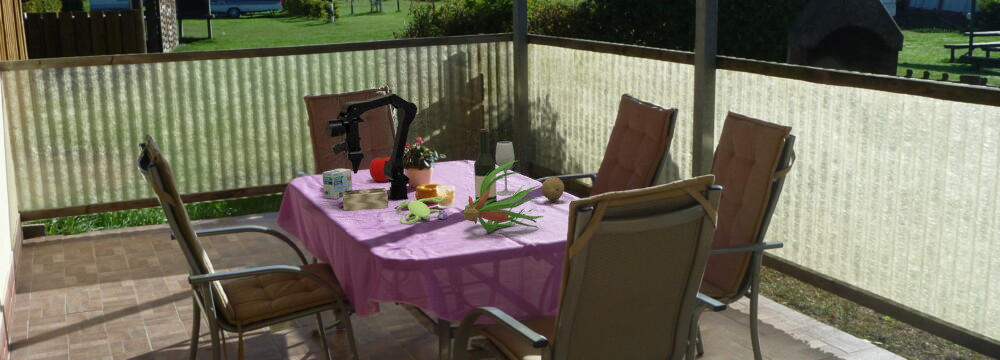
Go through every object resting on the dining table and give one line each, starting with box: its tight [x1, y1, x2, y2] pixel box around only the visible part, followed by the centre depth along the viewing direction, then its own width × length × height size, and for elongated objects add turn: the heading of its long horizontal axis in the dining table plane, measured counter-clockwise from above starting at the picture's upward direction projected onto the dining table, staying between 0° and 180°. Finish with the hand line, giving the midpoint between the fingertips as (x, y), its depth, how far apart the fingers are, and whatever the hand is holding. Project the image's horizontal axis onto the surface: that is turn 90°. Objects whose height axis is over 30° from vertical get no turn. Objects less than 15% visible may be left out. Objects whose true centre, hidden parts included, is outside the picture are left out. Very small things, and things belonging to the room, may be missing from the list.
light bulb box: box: [322, 167, 353, 200], centre depth 440 cm, size 11×7×11 cm, turn 143°
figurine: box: [395, 196, 449, 225], centre depth 399 cm, size 18×27×6 cm
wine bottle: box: [473, 128, 498, 208], centre depth 409 cm, size 8×8×30 cm
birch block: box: [342, 187, 389, 212], centre depth 418 cm, size 17×10×6 cm, turn 101°
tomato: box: [369, 155, 391, 183], centre depth 470 cm, size 12×13×11 cm
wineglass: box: [495, 141, 516, 196], centre depth 433 cm, size 8×8×21 cm
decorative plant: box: [463, 159, 544, 233], centre depth 371 cm, size 26×25×30 cm
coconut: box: [540, 176, 565, 203], centre depth 414 cm, size 9×9×10 cm
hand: (355, 173), depth 420 cm, fingers closed
